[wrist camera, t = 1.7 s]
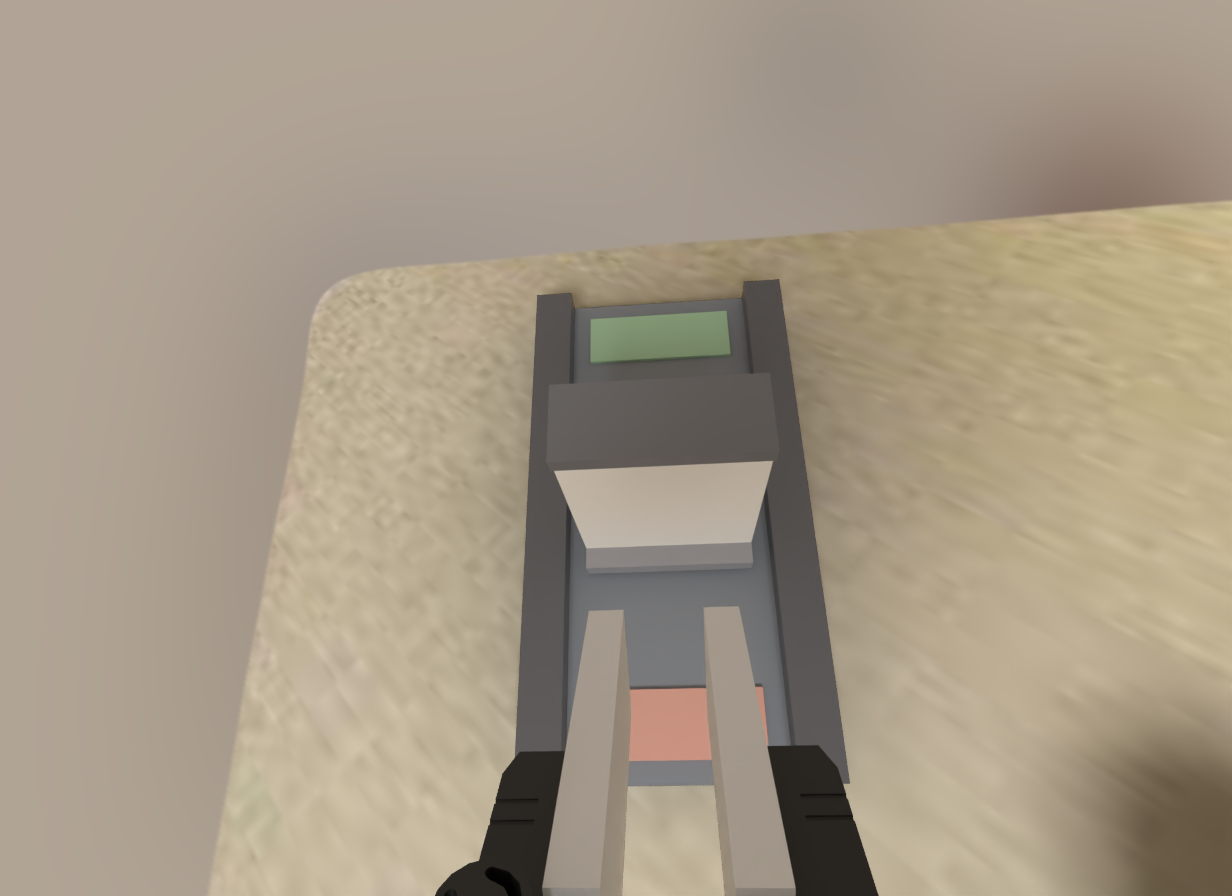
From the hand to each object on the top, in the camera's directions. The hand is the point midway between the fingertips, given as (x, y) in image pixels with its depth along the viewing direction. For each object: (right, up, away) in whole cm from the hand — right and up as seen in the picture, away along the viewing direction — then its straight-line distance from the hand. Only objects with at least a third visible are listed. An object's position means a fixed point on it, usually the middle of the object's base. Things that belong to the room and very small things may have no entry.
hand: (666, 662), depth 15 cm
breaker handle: (+2, +1, +20) cm, 20 cm away
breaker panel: (+2, +1, +23) cm, 23 cm away
